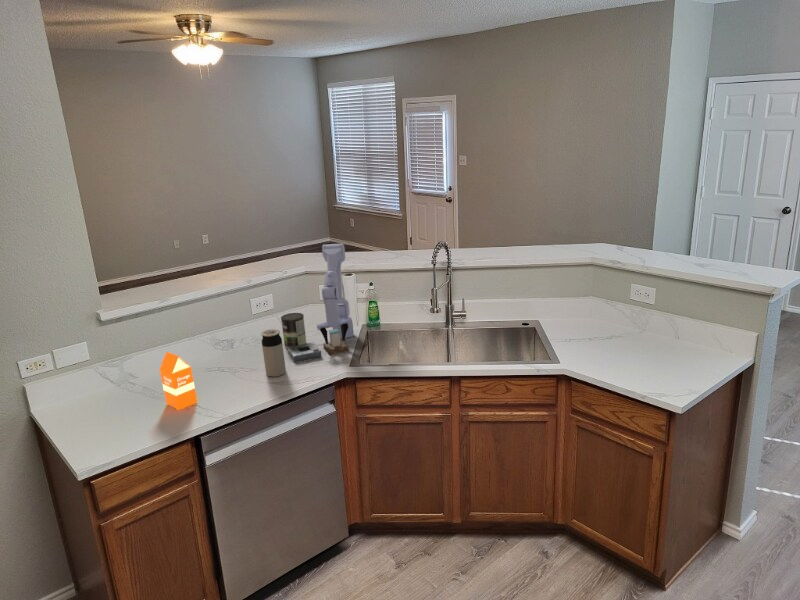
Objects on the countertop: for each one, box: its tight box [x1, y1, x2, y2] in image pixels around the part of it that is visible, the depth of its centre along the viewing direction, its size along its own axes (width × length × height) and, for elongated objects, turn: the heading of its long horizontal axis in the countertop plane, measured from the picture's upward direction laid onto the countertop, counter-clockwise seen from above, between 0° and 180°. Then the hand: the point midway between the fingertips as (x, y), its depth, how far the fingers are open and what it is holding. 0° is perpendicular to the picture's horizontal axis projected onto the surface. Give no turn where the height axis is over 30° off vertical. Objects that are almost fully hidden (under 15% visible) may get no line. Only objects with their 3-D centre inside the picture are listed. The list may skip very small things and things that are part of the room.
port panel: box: [287, 342, 322, 364], centre depth 252 cm, size 12×12×3 cm
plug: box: [328, 329, 341, 347], centre depth 255 cm, size 4×4×9 cm
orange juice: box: [159, 351, 198, 411], centre depth 211 cm, size 8×9×20 cm
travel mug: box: [260, 328, 287, 378], centre depth 233 cm, size 8×8×18 cm
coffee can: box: [280, 312, 308, 349], centre depth 263 cm, size 10×10×14 cm
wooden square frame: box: [322, 339, 350, 356], centre depth 256 cm, size 9×9×2 cm
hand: (335, 341), depth 255 cm, fingers open, 7 cm apart
